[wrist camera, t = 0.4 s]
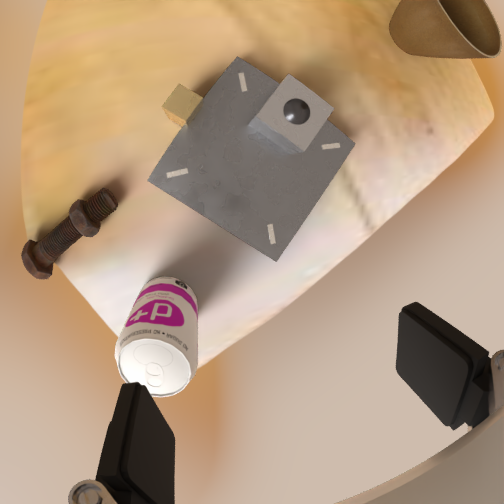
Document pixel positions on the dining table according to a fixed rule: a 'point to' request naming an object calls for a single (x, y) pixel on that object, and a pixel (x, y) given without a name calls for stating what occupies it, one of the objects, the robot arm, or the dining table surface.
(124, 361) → the supplement can
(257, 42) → the dining table surface
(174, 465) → the robot arm
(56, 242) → the bolt
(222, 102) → the grey mounting base
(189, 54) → the dining table surface
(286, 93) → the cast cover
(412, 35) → the plant pot
